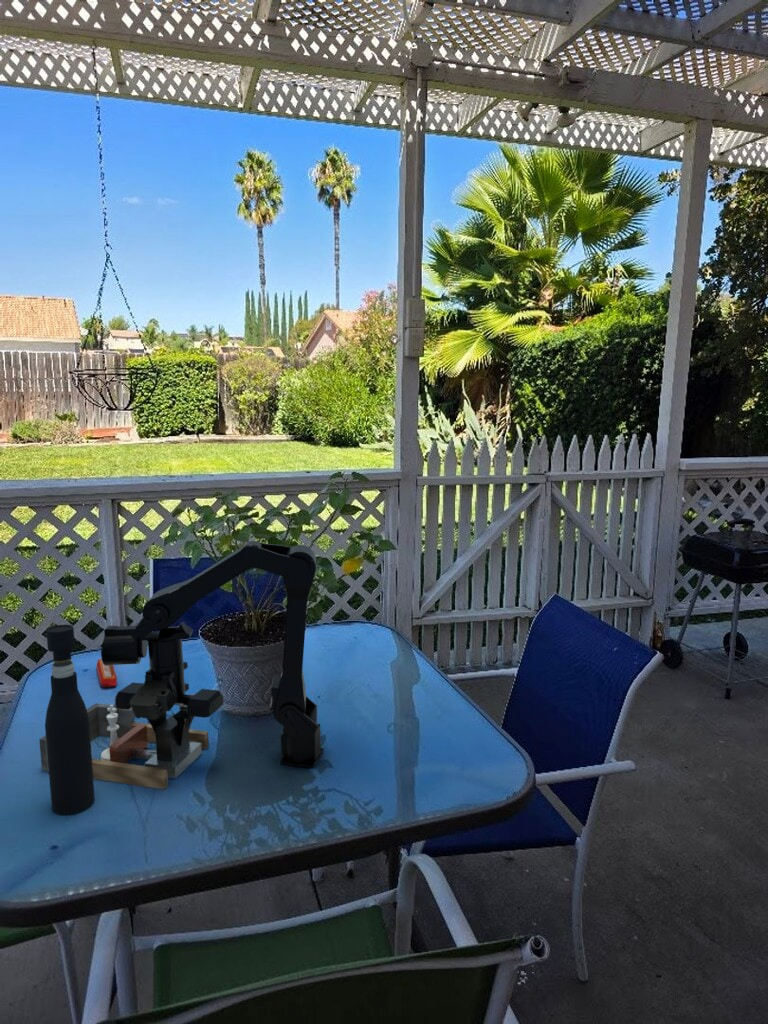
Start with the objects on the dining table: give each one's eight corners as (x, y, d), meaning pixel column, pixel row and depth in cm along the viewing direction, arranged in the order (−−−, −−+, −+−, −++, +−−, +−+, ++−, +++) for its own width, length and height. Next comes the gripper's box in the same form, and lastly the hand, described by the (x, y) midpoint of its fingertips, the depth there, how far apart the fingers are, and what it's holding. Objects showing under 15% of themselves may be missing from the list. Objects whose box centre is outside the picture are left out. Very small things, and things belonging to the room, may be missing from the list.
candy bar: (118, 689, 157) (117, 676, 157) (101, 692, 156) (100, 679, 155) (111, 666, 172) (110, 654, 171) (95, 668, 170) (95, 657, 169)
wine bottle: (50, 819, 107) (35, 637, 102) (52, 798, 113) (38, 624, 108) (95, 810, 109) (82, 631, 105) (94, 789, 115) (82, 619, 111)
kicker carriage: (201, 753, 127) (199, 712, 126) (175, 778, 118) (173, 735, 117) (140, 744, 130) (138, 705, 129) (110, 768, 121) (108, 726, 120)
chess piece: (118, 764, 124) (115, 712, 122) (95, 761, 125) (91, 709, 123) (134, 750, 128) (131, 701, 127) (111, 748, 129) (107, 698, 128)
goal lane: (208, 746, 130) (207, 716, 129) (164, 789, 115) (162, 756, 114) (98, 731, 136) (96, 703, 135) (42, 770, 121) (39, 739, 120)
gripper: (91, 674, 115) (98, 760, 117) (190, 683, 110) (195, 772, 113) (130, 651, 126) (136, 731, 128) (222, 659, 121) (227, 741, 123)
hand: (172, 743), depth 123 cm, fingers open, 3 cm apart
